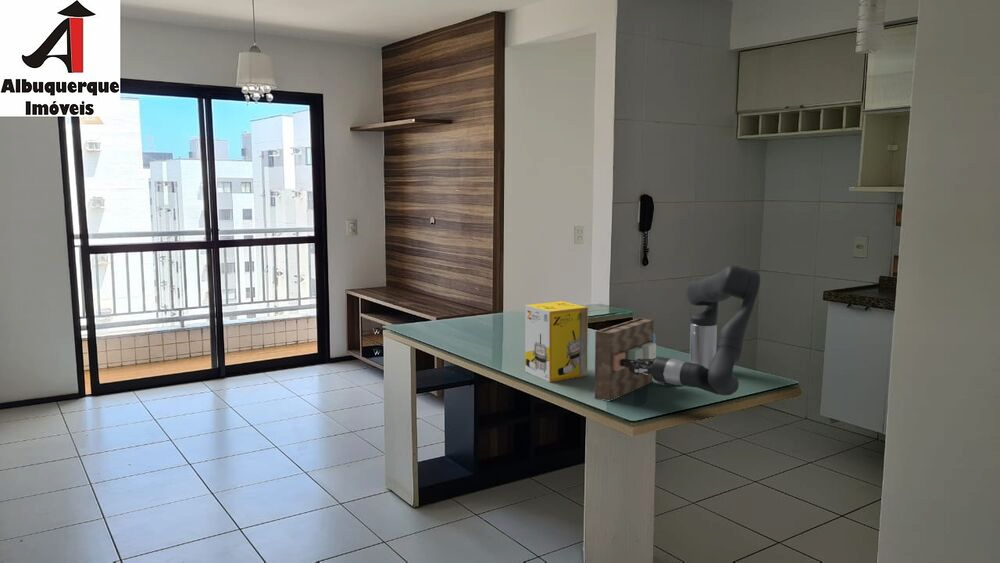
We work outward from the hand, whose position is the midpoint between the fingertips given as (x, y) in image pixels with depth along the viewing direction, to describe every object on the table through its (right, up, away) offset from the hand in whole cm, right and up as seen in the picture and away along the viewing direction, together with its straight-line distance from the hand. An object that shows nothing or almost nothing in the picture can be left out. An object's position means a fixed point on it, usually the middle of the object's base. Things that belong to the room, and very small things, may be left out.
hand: (621, 362), depth 227 cm
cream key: (+11, 0, +14) cm, 18 cm away
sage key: (+5, -1, +8) cm, 9 cm away
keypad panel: (+3, -10, +11) cm, 15 cm away
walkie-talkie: (+25, -10, +20) cm, 34 cm away
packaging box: (-18, -8, +32) cm, 37 cm away
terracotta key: (-2, -2, +2) cm, 3 cm away
